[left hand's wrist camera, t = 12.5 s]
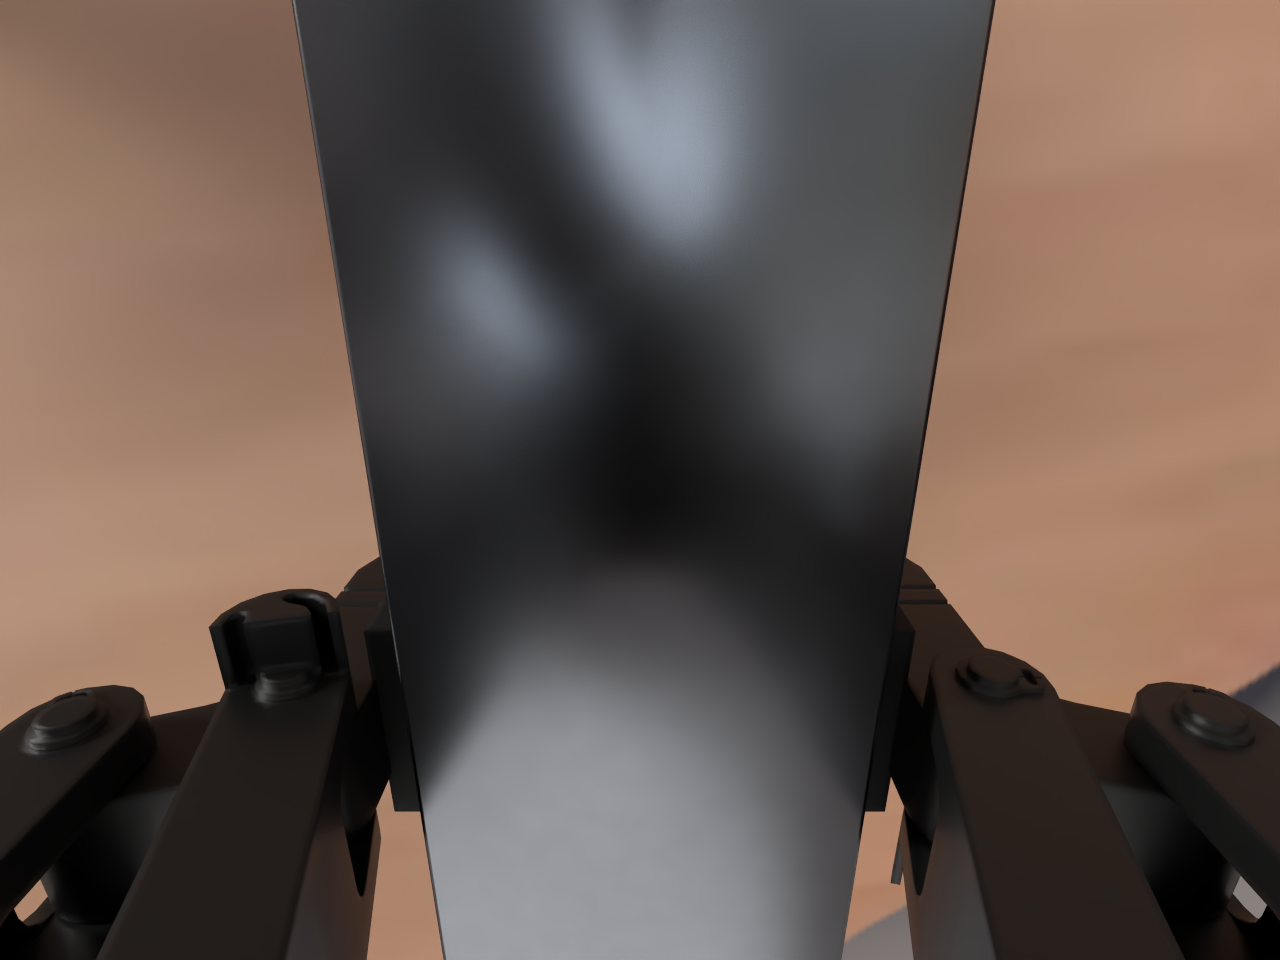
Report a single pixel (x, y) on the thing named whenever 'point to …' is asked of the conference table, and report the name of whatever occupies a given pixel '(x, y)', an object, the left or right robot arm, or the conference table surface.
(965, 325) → the conference table surface
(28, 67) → the conference table surface
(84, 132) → the conference table surface
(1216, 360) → the conference table surface
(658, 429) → the bar
